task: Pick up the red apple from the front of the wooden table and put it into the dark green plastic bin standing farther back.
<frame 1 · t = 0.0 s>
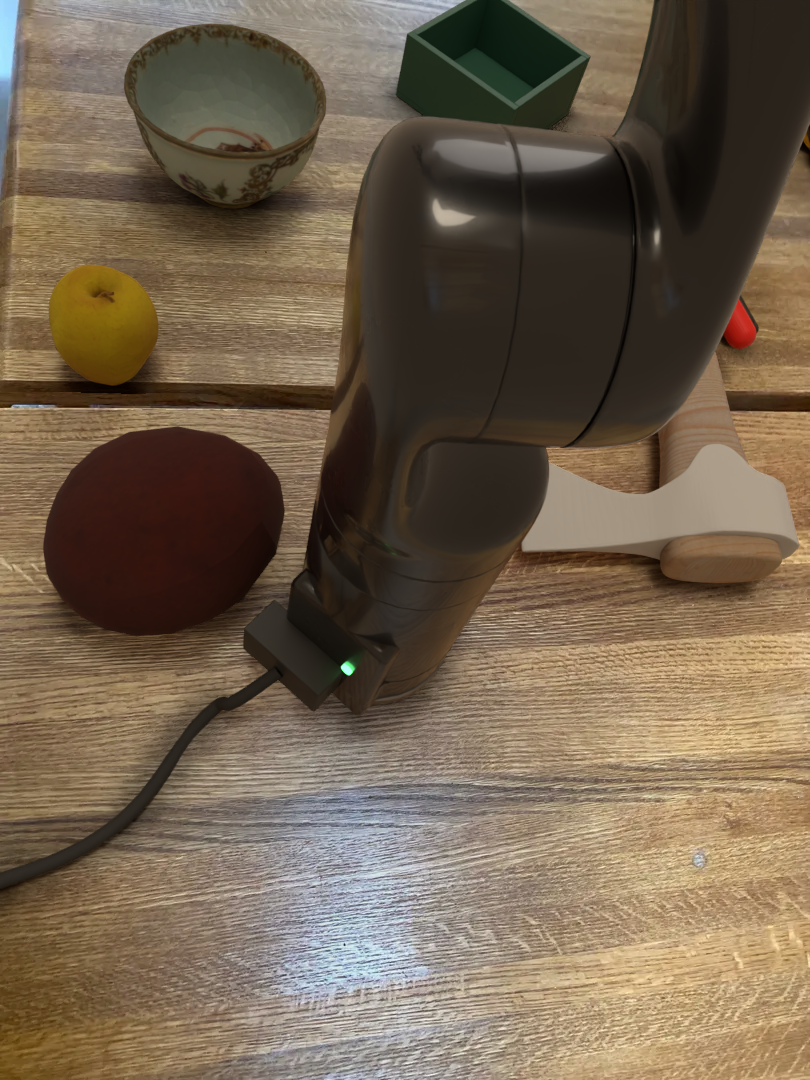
axe: (608, 227, 68), point 2 cm above the table, touching toy gun
toy gun: (698, 301, 64), point 4 cm above the table, touching axe
bowl: (228, 182, 66), on the table
fruit: (699, 34, 79), point 4 cm above the table
bin: (483, 104, 75), on the table
gaming mouse: (670, 203, 74), on the table
apple: (112, 367, 57), on the table
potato: (160, 496, 41), point 10 cm above the table
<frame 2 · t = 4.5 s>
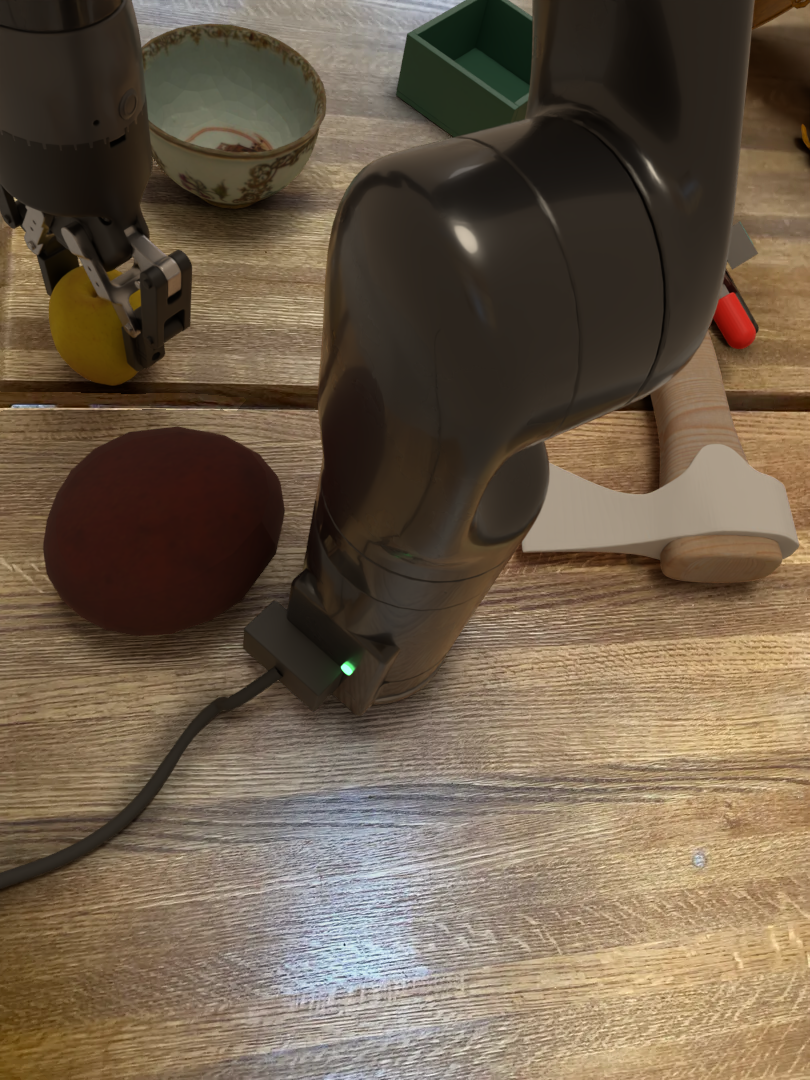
hand: (105, 326, 53), 4 cm above the table, tool pointing down, fingers closed on apple, 6 cm apart
apple: (112, 367, 57), on the table, touching gripper
everything else where it was.
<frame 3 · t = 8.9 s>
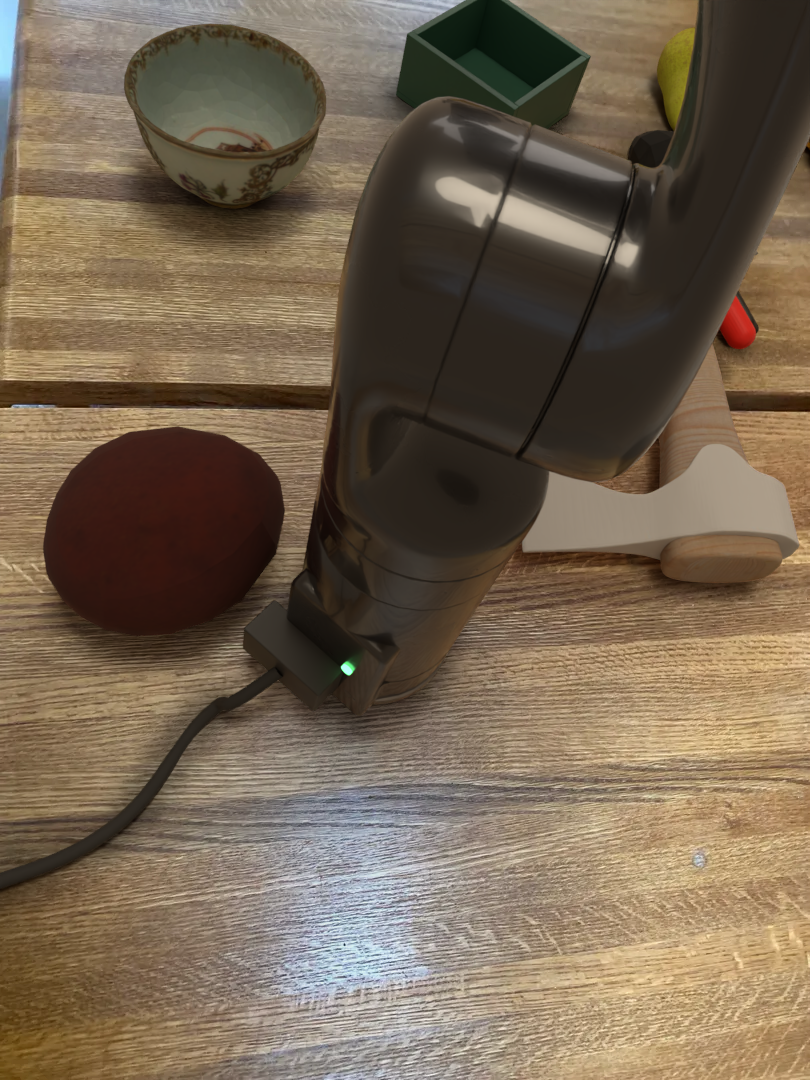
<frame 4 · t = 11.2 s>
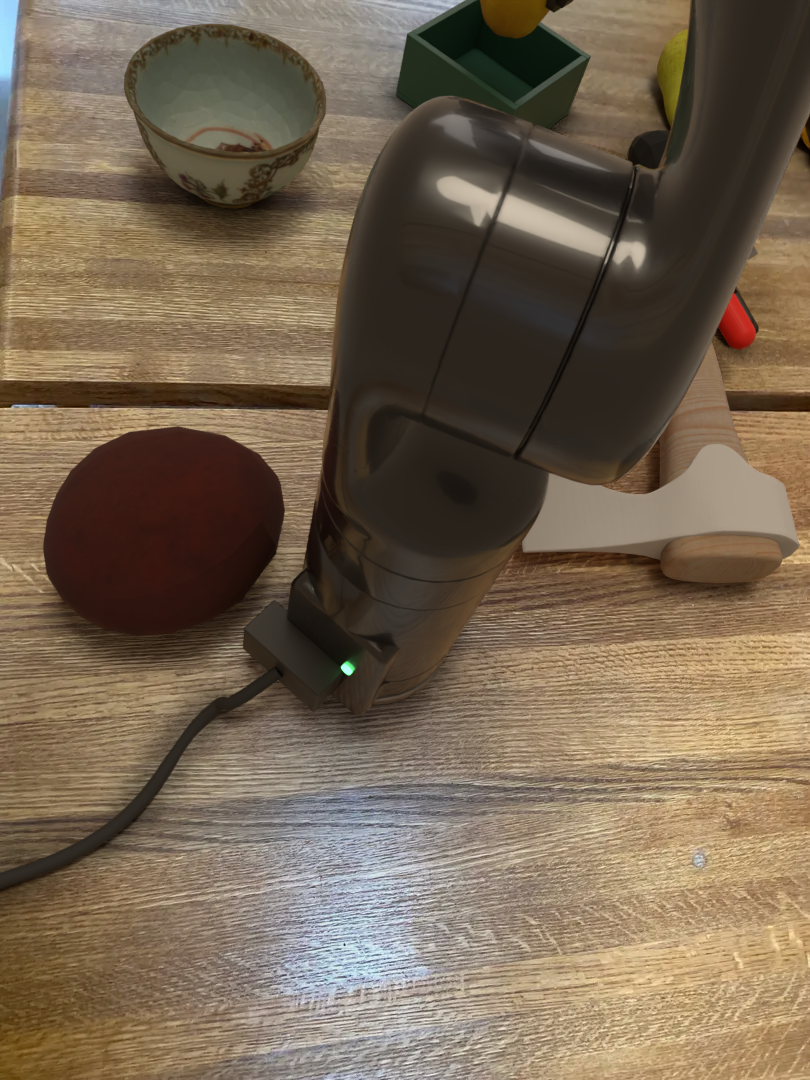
apple: (505, 31, 69), point 7 cm above the table, touching gripper
everything else where it was.
when the fingers open (5 cm above the table, at t = 13.8 s): apple stays where it is, resting on bin.
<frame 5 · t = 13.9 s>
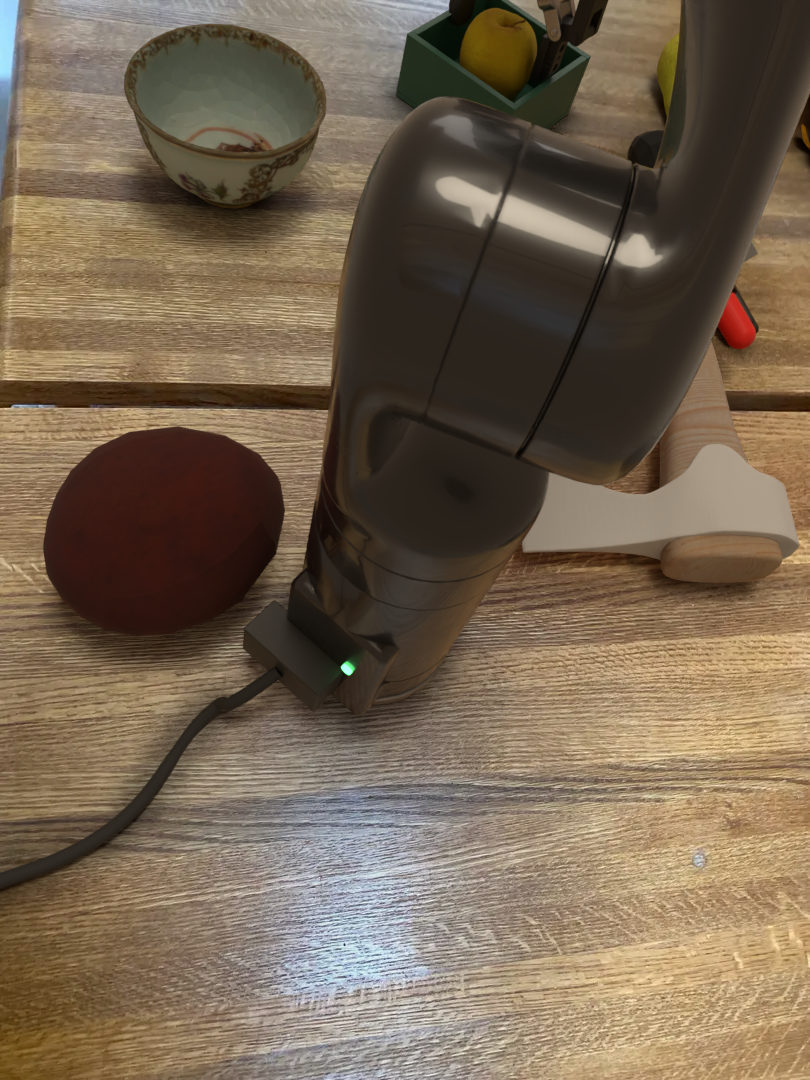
hand: (499, 49, 71), 5 cm above the table, tool pointing down, fingers open, 8 cm apart
apple: (484, 102, 75), resting on bin
everything else where it was.
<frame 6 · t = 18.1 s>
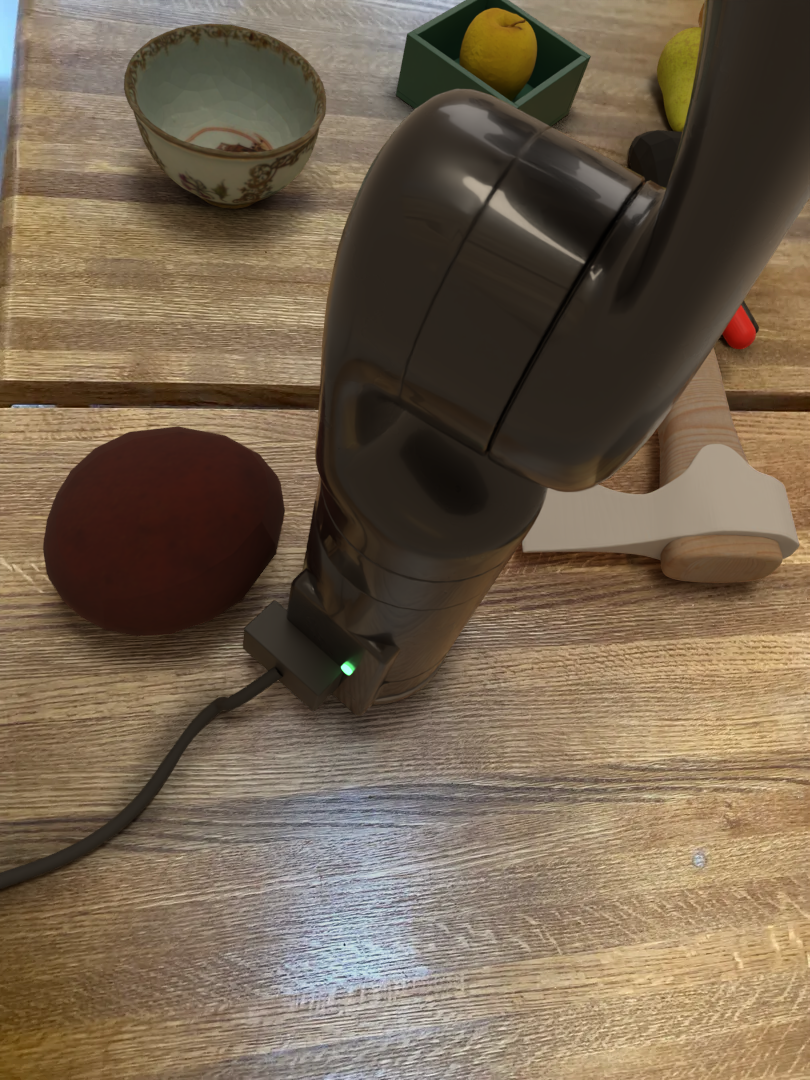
nothing on the table moved.
at the end: apple inside the target area in the bin (0.1 cm from its centre), point 0.3 cm above the bin's base; the gripper is holding nothing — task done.
